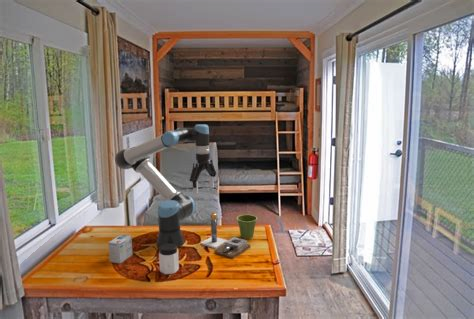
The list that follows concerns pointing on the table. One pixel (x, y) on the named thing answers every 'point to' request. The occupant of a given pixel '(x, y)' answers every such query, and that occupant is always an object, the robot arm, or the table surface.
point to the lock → (233, 247)
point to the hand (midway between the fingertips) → (203, 190)
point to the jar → (168, 258)
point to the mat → (215, 245)
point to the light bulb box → (120, 248)
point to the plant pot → (246, 225)
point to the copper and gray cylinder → (213, 227)
